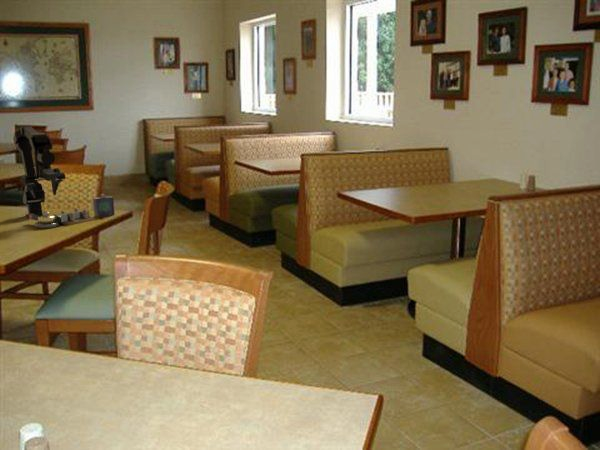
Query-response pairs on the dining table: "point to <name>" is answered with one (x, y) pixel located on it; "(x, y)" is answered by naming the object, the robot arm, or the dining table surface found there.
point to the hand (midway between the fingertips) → (44, 196)
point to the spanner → (69, 216)
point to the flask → (103, 206)
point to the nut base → (46, 226)
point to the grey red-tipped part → (42, 218)
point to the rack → (75, 221)
